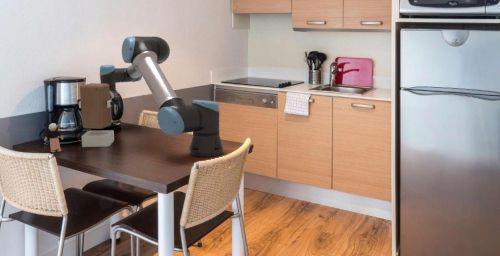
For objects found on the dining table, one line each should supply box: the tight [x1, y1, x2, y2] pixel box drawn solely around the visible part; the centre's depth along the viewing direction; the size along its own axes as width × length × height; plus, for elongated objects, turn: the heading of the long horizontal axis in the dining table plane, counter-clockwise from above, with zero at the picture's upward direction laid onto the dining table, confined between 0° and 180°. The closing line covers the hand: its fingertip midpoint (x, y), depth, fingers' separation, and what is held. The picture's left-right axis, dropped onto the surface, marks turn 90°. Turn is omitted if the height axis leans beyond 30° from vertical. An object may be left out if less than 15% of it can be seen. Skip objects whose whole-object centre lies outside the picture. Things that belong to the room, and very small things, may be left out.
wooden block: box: [79, 82, 112, 130], centre depth 209 cm, size 10×10×20 cm
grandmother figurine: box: [43, 122, 64, 153], centre depth 197 cm, size 8×4×13 cm, turn 135°
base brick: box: [81, 129, 115, 148], centre depth 212 cm, size 12×12×5 cm
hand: (93, 104), depth 205 cm, fingers closed on wooden block, 12 cm apart
